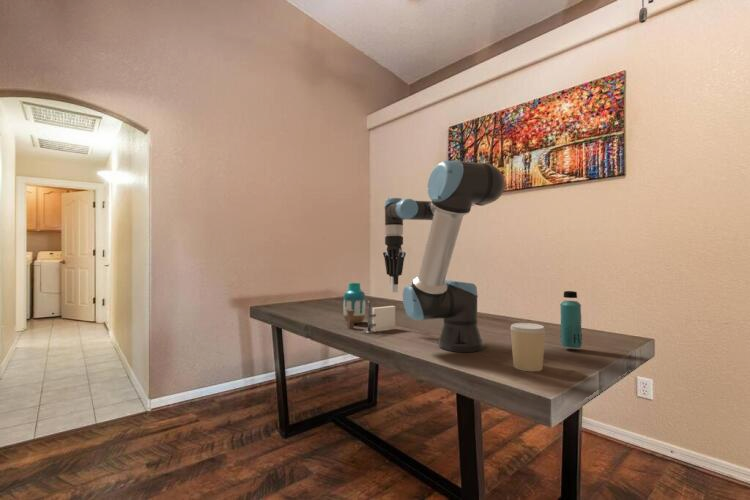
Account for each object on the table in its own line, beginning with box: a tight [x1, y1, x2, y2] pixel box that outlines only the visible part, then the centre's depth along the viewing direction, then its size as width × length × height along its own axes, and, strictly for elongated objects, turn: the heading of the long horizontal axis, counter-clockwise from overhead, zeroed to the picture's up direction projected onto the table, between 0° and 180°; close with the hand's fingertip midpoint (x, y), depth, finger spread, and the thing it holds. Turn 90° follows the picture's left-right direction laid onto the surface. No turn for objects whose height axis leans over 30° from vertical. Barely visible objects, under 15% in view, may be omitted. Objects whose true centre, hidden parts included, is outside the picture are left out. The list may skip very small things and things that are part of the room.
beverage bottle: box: [559, 290, 583, 349], centre depth 123 cm, size 6×7×20 cm
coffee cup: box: [509, 322, 546, 372], centre depth 105 cm, size 9×9×12 cm
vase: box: [342, 282, 367, 325], centre depth 172 cm, size 11×11×19 cm
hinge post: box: [364, 300, 375, 334], centre depth 152 cm, size 4×4×13 cm
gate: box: [371, 305, 396, 331], centre depth 156 cm, size 12×2×9 cm, turn 123°
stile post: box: [346, 309, 355, 330], centre depth 161 cm, size 3×3×8 cm
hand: (394, 292), depth 151 cm, fingers closed
